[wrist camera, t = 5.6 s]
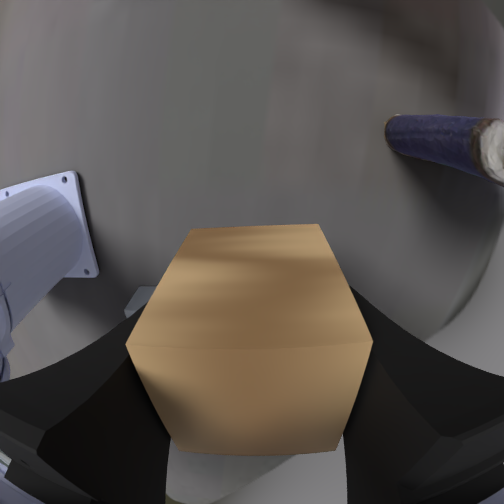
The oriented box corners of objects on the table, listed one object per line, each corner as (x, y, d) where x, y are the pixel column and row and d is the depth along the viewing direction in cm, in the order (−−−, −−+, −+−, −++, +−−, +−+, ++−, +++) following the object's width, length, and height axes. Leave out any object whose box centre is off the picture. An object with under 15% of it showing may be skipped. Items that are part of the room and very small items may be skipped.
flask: (487, 130, 14) (602, 164, 4) (485, 169, 15) (595, 221, 5) (381, 110, 14) (512, 115, 5) (381, 157, 16) (504, 213, 6)
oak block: (207, 327, 12) (179, 450, 7) (191, 229, 10) (125, 344, 5) (312, 324, 12) (335, 450, 7) (318, 224, 10) (373, 340, 5)
